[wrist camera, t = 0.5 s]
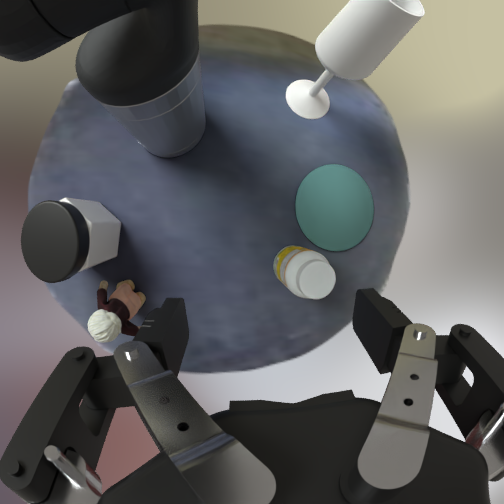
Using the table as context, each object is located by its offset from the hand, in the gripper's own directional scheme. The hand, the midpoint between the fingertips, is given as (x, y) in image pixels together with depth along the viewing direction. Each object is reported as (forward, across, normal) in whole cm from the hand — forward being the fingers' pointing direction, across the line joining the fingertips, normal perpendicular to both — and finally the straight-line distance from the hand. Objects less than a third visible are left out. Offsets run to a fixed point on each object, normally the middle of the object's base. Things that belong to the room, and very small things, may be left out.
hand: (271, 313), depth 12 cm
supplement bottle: (+24, -5, +6) cm, 25 cm away
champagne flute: (+28, -8, -17) cm, 34 cm away
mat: (+25, -11, -1) cm, 28 cm away
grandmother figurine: (+21, +17, +9) cm, 28 cm away
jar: (+22, +22, 0) cm, 31 cm away
